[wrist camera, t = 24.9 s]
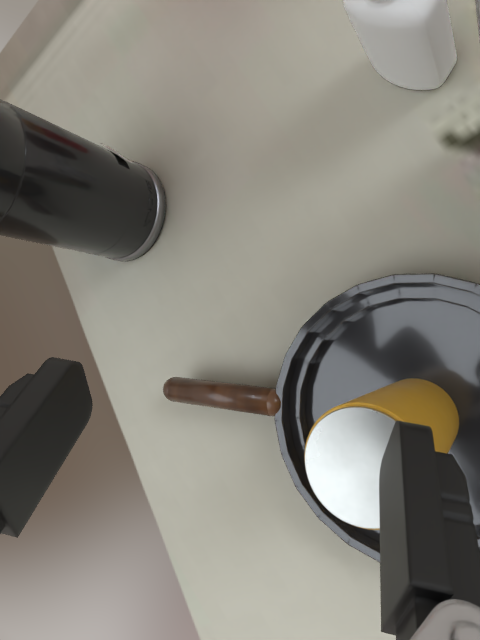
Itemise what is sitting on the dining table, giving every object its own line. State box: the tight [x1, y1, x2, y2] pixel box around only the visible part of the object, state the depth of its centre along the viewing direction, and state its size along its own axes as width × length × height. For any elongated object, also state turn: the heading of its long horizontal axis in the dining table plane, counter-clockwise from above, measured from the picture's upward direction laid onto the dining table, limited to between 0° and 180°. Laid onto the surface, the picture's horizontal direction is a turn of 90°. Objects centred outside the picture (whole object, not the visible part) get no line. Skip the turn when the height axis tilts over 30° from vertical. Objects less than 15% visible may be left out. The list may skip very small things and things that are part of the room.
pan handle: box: [163, 377, 281, 416], centre depth 35 cm, size 11×2×2 cm, turn 88°
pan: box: [275, 273, 480, 562], centre depth 29 cm, size 18×18×3 cm
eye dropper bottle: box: [343, 0, 457, 90], centre depth 26 cm, size 4×6×12 cm
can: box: [304, 378, 459, 530], centre depth 24 cm, size 5×5×13 cm
